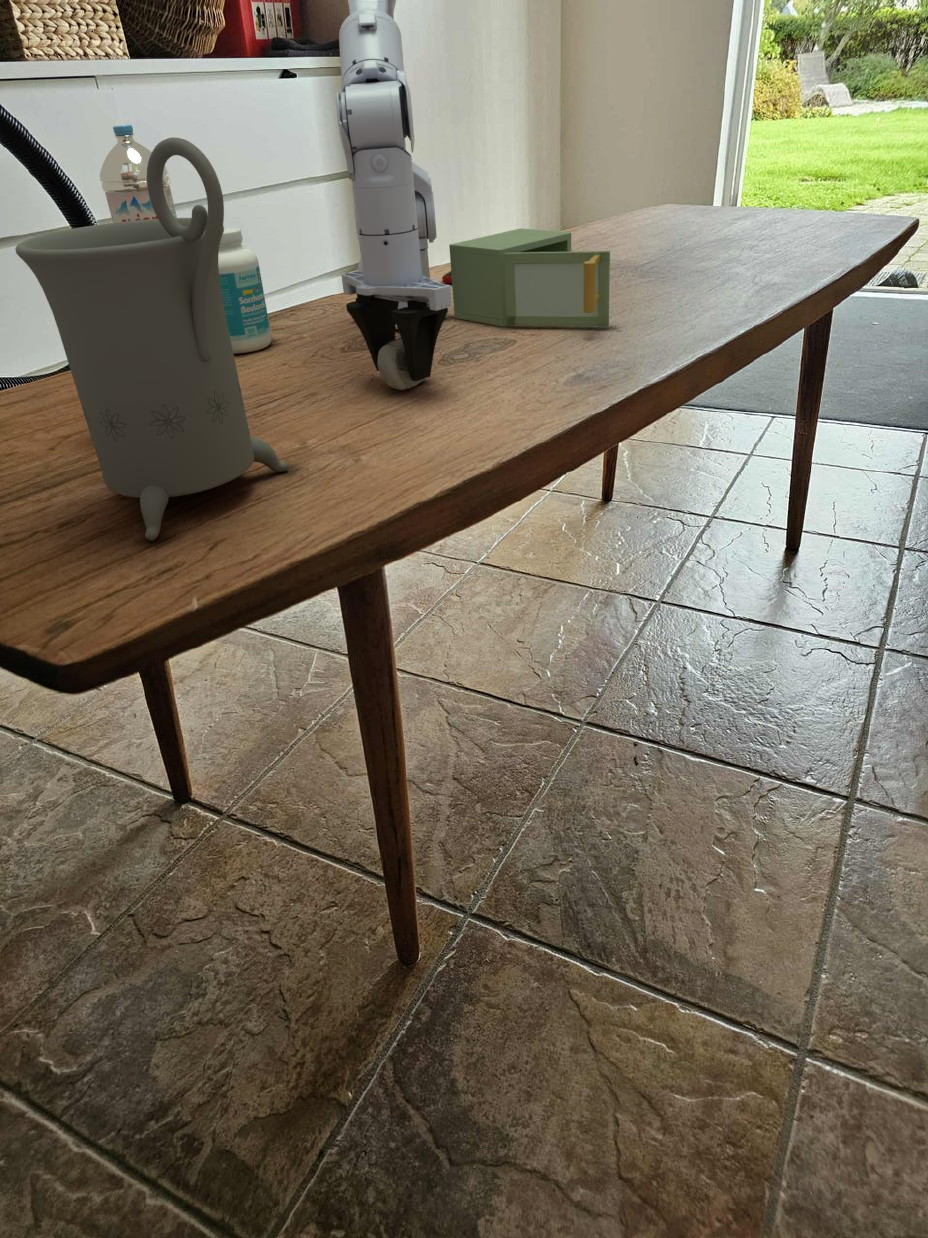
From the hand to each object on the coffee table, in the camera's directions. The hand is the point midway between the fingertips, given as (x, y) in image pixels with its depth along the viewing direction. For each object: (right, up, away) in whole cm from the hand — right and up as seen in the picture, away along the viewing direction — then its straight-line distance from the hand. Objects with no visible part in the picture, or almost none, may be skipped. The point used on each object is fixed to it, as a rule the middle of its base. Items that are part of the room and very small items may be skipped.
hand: (403, 373), depth 89 cm
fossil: (0, -1, +1) cm, 2 cm away
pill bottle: (-21, +9, +19) cm, 30 cm away
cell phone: (+9, +29, +48) cm, 57 cm away
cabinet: (+13, +15, +25) cm, 32 cm away
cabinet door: (+17, +9, +15) cm, 24 cm away
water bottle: (-27, +3, +12) cm, 29 cm away
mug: (-15, -16, -20) cm, 30 cm away
